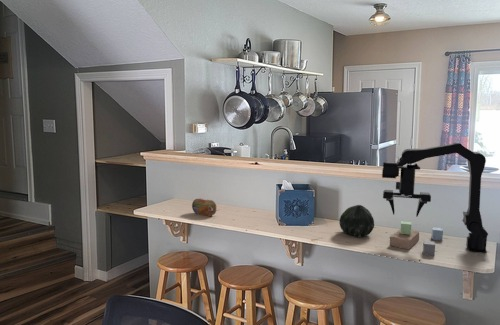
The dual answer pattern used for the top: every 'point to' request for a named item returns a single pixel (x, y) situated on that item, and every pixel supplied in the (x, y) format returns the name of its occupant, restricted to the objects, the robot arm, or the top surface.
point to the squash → (357, 221)
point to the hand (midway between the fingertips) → (405, 215)
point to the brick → (404, 239)
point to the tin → (204, 207)
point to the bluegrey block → (437, 233)
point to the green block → (405, 227)
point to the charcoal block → (429, 248)
